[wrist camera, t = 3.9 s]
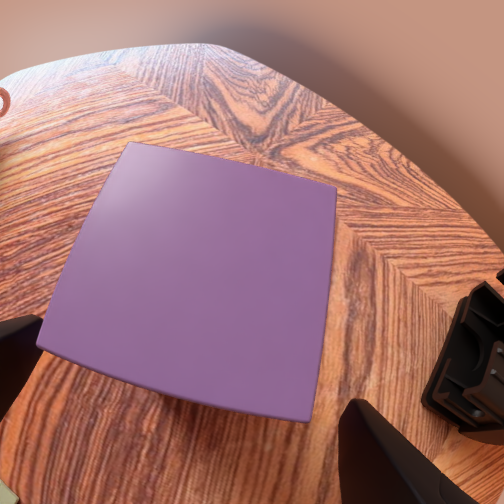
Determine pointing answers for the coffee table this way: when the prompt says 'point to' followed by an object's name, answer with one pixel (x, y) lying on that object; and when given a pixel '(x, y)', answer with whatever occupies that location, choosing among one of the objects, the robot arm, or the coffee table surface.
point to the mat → (7, 495)
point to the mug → (6, 100)
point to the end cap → (472, 368)
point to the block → (200, 282)
